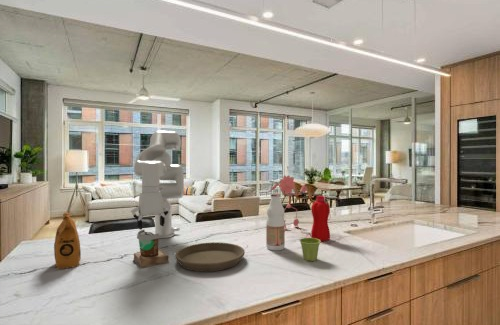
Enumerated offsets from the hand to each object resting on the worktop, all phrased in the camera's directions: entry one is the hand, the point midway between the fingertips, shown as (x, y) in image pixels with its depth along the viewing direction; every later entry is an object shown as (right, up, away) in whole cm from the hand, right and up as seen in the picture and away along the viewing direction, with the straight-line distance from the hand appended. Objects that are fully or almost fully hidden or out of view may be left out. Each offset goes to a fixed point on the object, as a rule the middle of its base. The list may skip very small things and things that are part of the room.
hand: (151, 227), depth 132 cm
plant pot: (+72, -15, +2) cm, 74 cm away
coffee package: (-35, -15, -5) cm, 39 cm away
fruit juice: (+58, -15, +19) cm, 62 cm away
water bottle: (+85, -15, +33) cm, 93 cm away
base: (0, -15, 0) cm, 15 cm away
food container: (-1, -12, -2) cm, 12 cm away
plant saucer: (+27, -16, 0) cm, 31 cm away
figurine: (+70, -15, +64) cm, 96 cm away
